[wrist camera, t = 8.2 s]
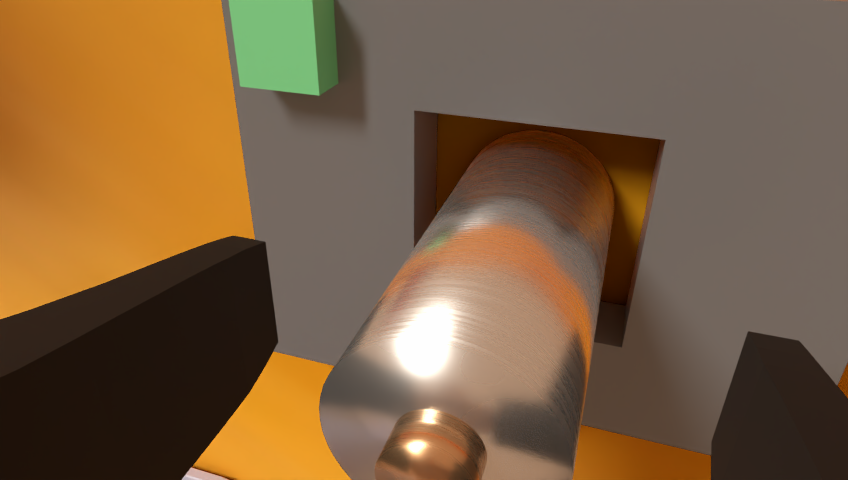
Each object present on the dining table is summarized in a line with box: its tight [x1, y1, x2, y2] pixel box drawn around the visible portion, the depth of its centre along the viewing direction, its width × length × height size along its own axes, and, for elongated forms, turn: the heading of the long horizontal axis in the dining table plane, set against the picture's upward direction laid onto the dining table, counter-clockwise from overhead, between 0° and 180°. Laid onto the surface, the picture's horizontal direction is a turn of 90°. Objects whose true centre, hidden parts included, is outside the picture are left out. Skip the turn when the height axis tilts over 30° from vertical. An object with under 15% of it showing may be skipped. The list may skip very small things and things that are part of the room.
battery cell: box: [319, 130, 614, 480], centre depth 10 cm, size 3×3×8 cm
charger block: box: [221, 0, 848, 455], centre depth 13 cm, size 9×12×2 cm
